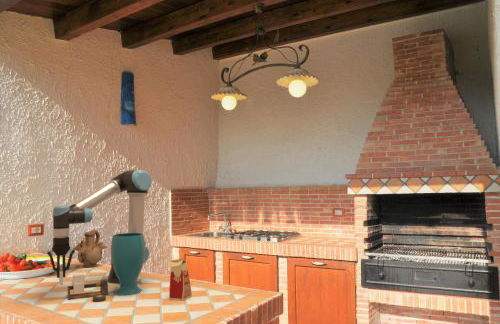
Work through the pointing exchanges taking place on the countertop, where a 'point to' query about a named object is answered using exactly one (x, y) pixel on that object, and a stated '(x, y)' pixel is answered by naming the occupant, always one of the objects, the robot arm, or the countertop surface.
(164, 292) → the countertop surface
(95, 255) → the ceramic vessel
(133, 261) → the vase
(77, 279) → the sleeve
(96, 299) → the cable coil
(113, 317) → the countertop surface
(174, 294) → the milk carton
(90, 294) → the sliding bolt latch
